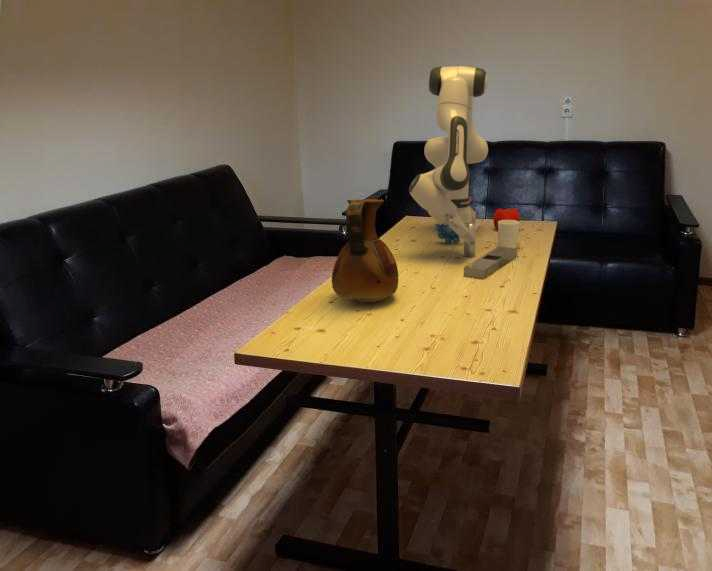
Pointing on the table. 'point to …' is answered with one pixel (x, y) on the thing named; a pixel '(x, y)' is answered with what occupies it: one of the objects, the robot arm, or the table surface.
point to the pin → (469, 246)
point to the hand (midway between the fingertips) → (471, 238)
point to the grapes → (446, 233)
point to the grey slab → (490, 262)
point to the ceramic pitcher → (364, 257)
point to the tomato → (505, 215)
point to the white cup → (508, 233)
